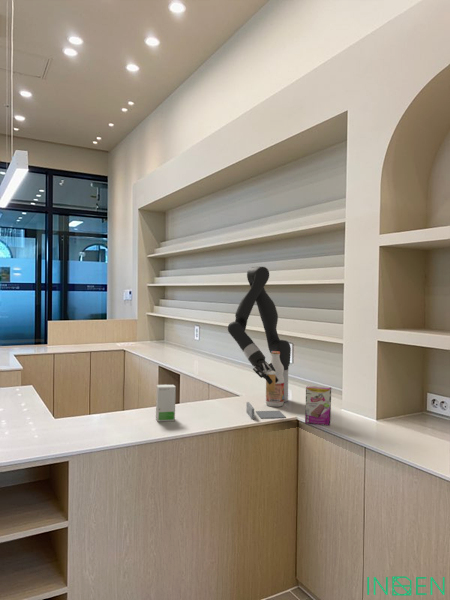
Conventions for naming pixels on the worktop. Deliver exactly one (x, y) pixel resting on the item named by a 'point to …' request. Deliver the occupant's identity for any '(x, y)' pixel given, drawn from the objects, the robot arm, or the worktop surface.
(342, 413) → the worktop surface
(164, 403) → the skincare box
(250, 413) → the smoky grey acrylic wall
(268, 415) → the dark slate mat
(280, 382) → the fruit juice
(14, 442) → the worktop surface
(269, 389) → the amber medicine bottle
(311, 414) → the candy bar box
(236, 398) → the worktop surface
